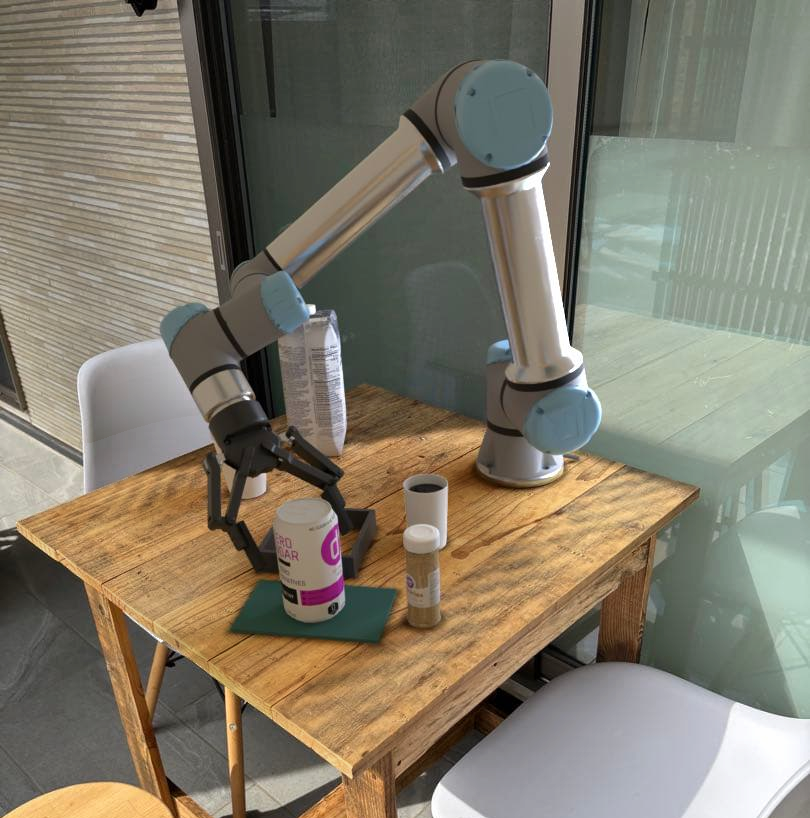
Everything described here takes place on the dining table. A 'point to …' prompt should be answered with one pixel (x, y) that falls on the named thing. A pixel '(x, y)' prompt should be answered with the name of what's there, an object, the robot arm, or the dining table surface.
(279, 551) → the supplement can
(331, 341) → the juice carton
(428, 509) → the white coffee cup
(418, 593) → the sprinkles bottle
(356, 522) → the square frame
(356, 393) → the dining table surface
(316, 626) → the mat
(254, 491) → the foam cup
